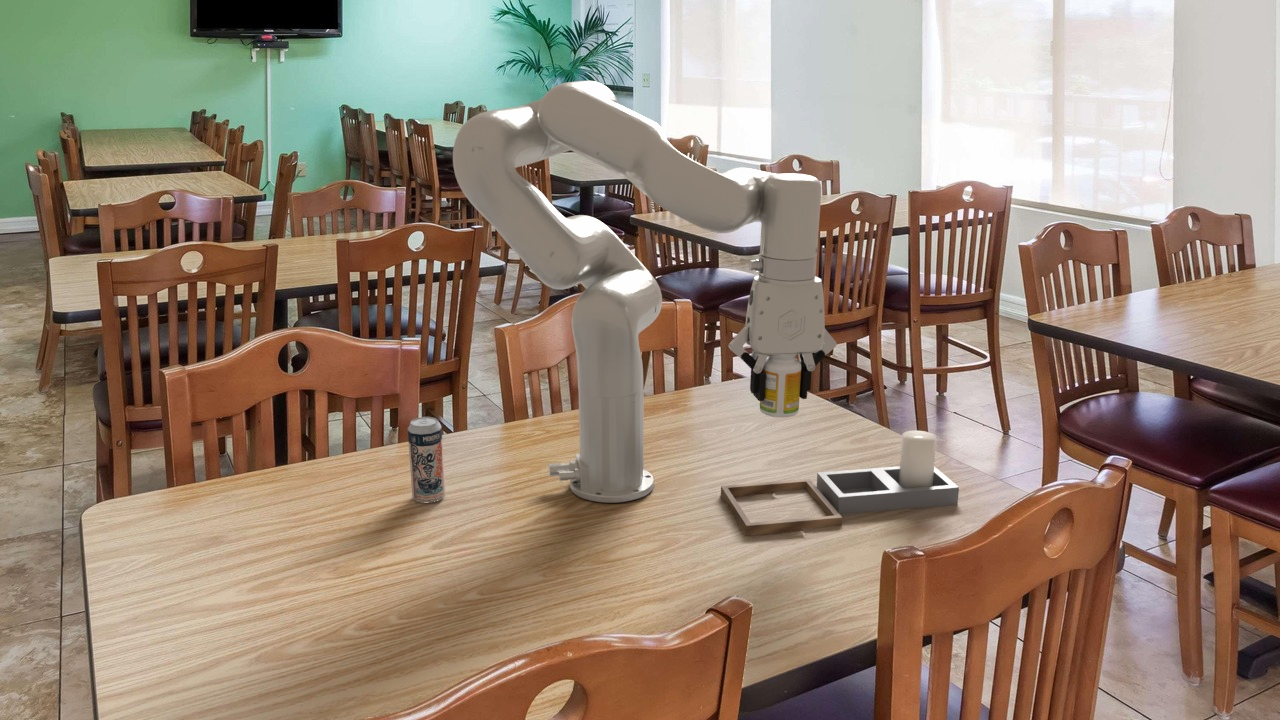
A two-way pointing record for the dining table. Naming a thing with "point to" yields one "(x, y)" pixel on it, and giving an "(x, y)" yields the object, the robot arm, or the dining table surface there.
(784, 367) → the supplement bottle
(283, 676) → the dining table surface
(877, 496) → the caddy
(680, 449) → the dining table surface
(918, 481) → the white pillar candle
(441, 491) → the beer can
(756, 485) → the tray
